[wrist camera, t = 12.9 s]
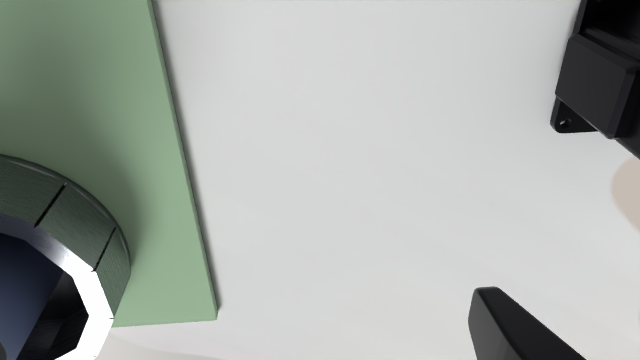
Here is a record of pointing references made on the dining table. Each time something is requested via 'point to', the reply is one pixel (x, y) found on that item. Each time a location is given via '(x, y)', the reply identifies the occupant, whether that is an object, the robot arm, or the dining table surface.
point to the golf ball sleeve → (23, 290)
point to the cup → (66, 257)
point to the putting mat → (109, 138)
